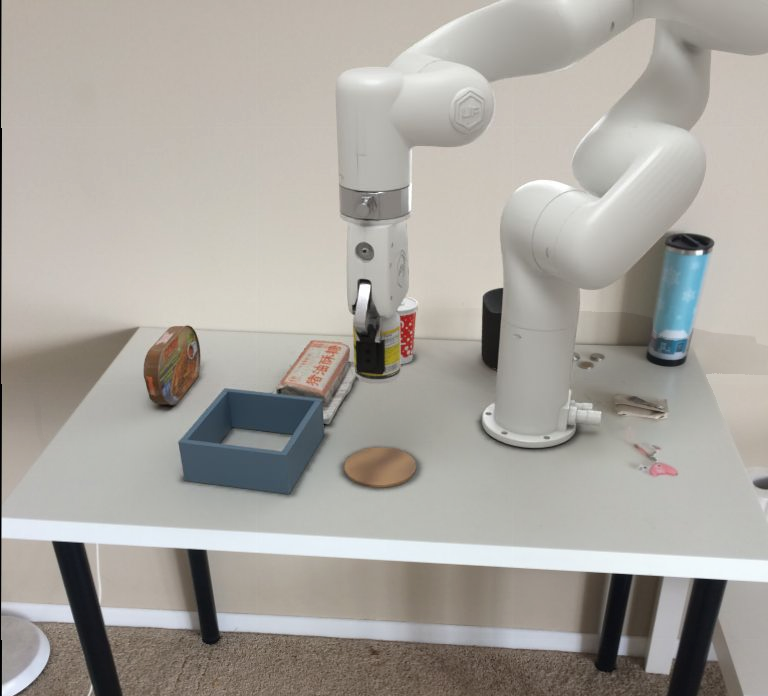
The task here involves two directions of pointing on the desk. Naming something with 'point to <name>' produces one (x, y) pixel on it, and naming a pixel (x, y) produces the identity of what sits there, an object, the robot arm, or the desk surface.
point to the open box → (250, 464)
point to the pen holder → (491, 326)
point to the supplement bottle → (391, 350)
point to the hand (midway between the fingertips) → (377, 359)
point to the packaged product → (321, 375)
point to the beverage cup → (407, 327)
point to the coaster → (380, 467)
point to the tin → (172, 365)
